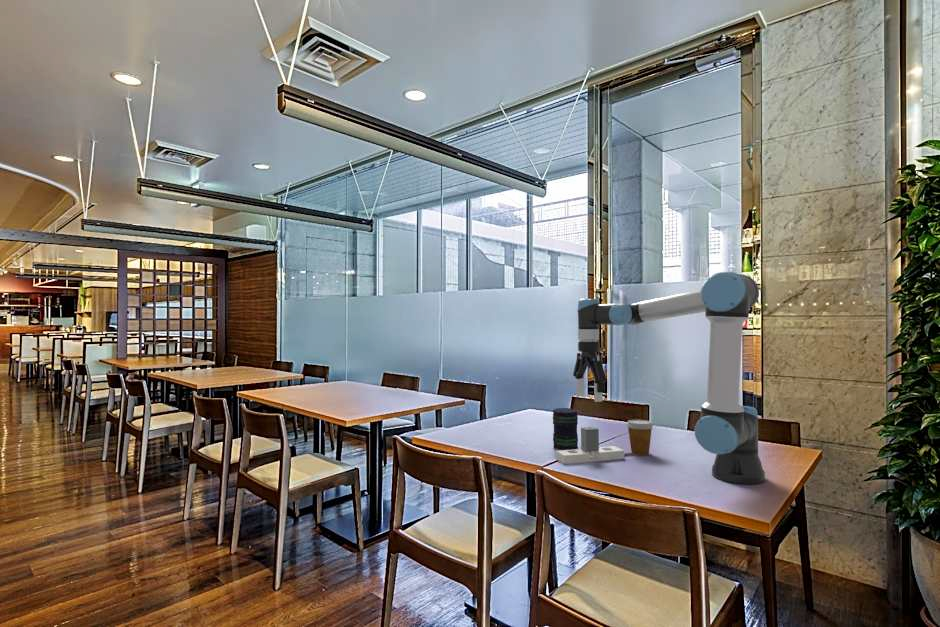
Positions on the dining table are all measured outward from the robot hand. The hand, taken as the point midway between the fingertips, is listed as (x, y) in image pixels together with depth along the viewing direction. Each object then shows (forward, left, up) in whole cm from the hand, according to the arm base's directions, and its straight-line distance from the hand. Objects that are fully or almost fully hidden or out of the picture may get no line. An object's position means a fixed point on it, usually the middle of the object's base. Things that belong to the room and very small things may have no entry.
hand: (589, 398), depth 189 cm
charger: (0, 0, -20) cm, 20 cm away
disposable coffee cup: (+1, -22, -22) cm, 31 cm away
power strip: (0, -3, -22) cm, 22 cm away
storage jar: (+18, +1, -22) cm, 28 cm away
